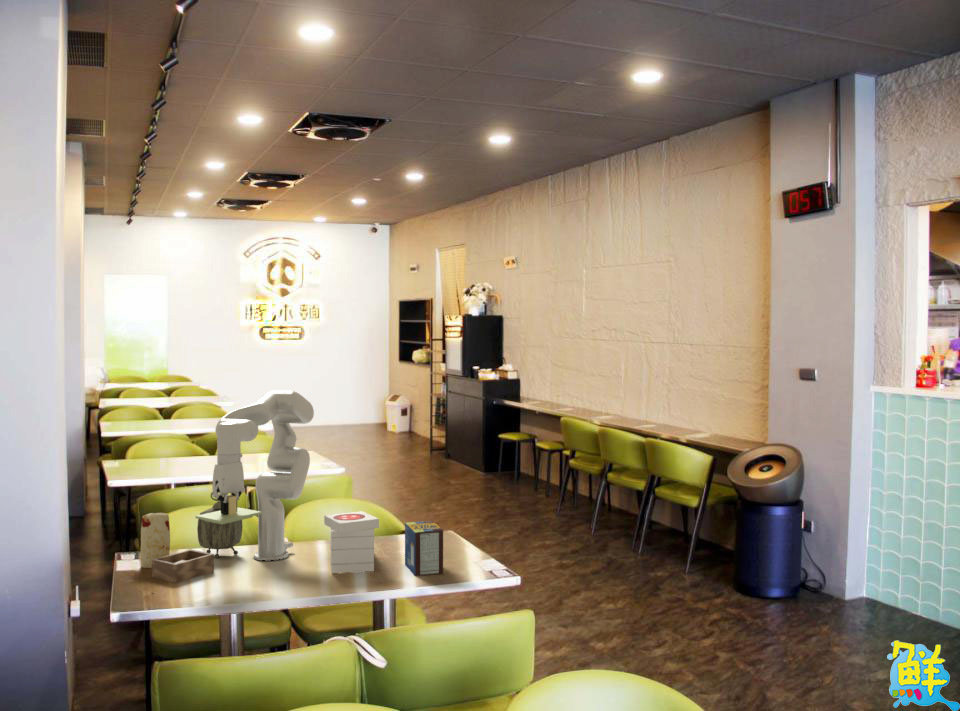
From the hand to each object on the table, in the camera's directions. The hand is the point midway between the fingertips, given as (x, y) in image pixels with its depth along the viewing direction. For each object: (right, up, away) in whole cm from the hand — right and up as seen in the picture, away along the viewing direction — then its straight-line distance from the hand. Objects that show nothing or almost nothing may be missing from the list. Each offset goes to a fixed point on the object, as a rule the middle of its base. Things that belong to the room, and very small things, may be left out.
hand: (229, 512), depth 279 cm
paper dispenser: (+38, -23, +23) cm, 50 cm away
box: (-17, -23, +3) cm, 28 cm away
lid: (0, -2, 0) cm, 2 cm away
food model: (-30, -23, +14) cm, 40 cm away
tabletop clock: (-13, -22, +30) cm, 40 cm away
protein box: (+65, -24, +16) cm, 71 cm away
